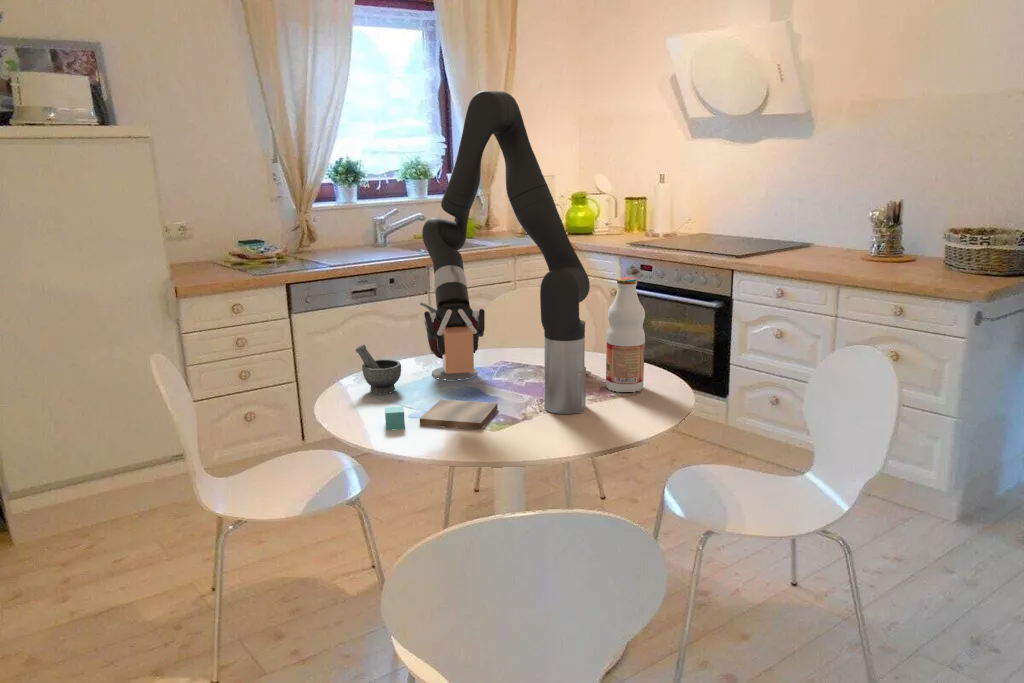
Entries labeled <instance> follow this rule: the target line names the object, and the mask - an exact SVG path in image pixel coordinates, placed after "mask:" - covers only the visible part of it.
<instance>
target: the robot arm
mask: <svg viewBox="0 0 1024 683" xmlns="http://www.w3.org/2000/svg"><path fill="white" fill-rule="evenodd" d="M493 135H494V138H495V139H496V141H497V143H498V146H499V148H500V150H501V153H502V156H503V159H504V163H505V188H506V190H505V191H506V194H507V197H508V200H509V203H510V206H511V207H512V211H513V213H514V215H515V217H516V219H517V221H518V223H519V225H520V226H521V227H522V229H523V230H524V231H525V232H526V234H527V235H528V236H529V237H530V238H531V240H532V241H533V243H535V245H536V246H537V248H538V249H539V250H540V253H541V254H542V256H543V258H544V261H545V262H546V266H547V268H548V272H547V273H545V275H544V276H543V278H542V279H541V283H540V291H539V302H540V303H539V304H540V320H541V324H542V328H543V330H544V333H543V335H544V346H543V347H544V356H543V357H544V363H543V364H544V369H543V370H544V371H543V372H544V373H543V374H544V376H543V377H544V378H543V380H544V387H543V389H544V391H543V392H544V394H543V395H544V396H543V397H544V399H543V401H544V406H543V407H544V410H545V411H547V412H550V413H551V414H559V415H571V414H582V413H583V412H584V409H585V407H586V406H587V405H586V404H587V403H586V402H587V400H586V397H587V396H586V395H587V394H586V393H587V392H586V391H587V367H586V366H585V353H586V352H585V350H586V349H585V344H586V343H585V342H586V335H585V333H586V325H585V326H584V324H583V323H581V322H580V320H581V319H580V303H581V302H583V301H584V300H585V299H587V297H588V295H589V292H590V288H591V287H590V284H591V283H590V278H589V276H588V273H587V271H586V269H585V268H584V266H583V263H582V261H581V260H580V258H579V256H578V254H577V253H576V251H575V249H574V247H573V245H572V243H571V241H570V238H569V236H568V234H567V231H566V229H565V225H564V223H563V221H562V218H561V217H560V216H561V215H560V214H559V211H558V208H557V206H556V203H555V200H554V198H553V196H552V193H551V191H550V188H549V186H548V184H547V181H546V179H545V177H544V174H543V173H542V169H541V167H540V165H539V162H538V160H537V157H536V155H535V152H534V150H533V148H532V145H531V142H530V139H529V136H528V132H527V129H526V126H525V122H524V118H523V116H522V112H521V110H520V107H519V105H518V102H517V101H516V99H515V98H514V97H513V96H512V95H511V94H510V93H508V92H505V91H501V90H500V91H499V90H482V91H478V92H477V93H476V94H475V95H473V97H472V98H471V100H470V101H469V103H468V106H467V110H466V113H465V118H464V123H463V128H462V133H461V138H460V143H459V146H458V147H459V148H458V151H457V156H456V158H455V163H454V167H453V169H452V172H451V176H450V178H449V180H448V184H447V185H446V188H445V190H444V194H443V196H442V199H441V202H440V207H441V208H442V210H443V211H444V212H445V213H446V214H448V215H450V216H452V217H454V220H453V221H452V220H448V219H444V218H440V217H430V218H428V219H427V220H426V221H425V223H424V224H423V226H422V230H421V231H422V232H421V234H422V242H423V244H424V246H425V249H426V250H427V253H428V255H429V258H430V259H431V262H432V268H433V275H434V278H433V284H434V285H433V286H434V288H433V289H434V296H435V303H436V304H435V305H436V309H437V310H436V312H435V313H429V312H430V311H429V310H428V311H427V310H426V311H424V314H423V322H424V326H425V330H426V333H427V334H428V337H427V339H428V338H429V339H436V340H437V346H438V352H439V353H441V355H444V354H445V347H444V338H443V329H445V328H446V327H463V326H466V327H467V328H471V330H472V331H473V352H474V354H476V352H477V351H478V348H479V340H477V337H479V338H481V337H483V336H484V334H485V328H486V327H485V322H486V321H485V309H484V308H481V309H479V310H475V311H473V310H474V309H473V310H472V308H471V305H470V299H469V298H470V297H469V291H468V284H467V278H466V275H465V269H464V268H465V267H464V263H463V257H462V254H461V252H460V251H459V250H461V249H462V248H463V247H464V245H465V244H466V242H467V241H466V240H467V234H468V233H467V231H468V223H469V217H470V212H471V208H472V206H473V203H474V202H475V199H476V196H477V193H478V191H479V187H480V184H481V176H482V175H481V174H482V173H481V172H482V171H481V167H482V160H483V154H484V151H485V148H486V146H487V144H488V143H489V140H490V139H491V137H492V136H493ZM472 316H473V317H475V320H476V321H478V329H475V328H474V326H473V325H472V322H471V321H470V319H471V317H472ZM435 318H436V319H437V320H438V321H439V322H440V323H441V325H440V328H439V330H438V332H437V331H434V328H433V324H432V323H433V322H434V319H435ZM427 334H426V335H427Z"/></svg>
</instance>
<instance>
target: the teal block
mask: <svg viewBox="0 0 1024 683" xmlns="http://www.w3.org/2000/svg"><path fill="white" fill-rule="evenodd" d="M384 414H385V416H384V417H385V418H384V419H385V420H384V421H385V430H386V431H393V430H392V429H398V430H406V426H405V425H406V424H405V423H406V421H405V408H404V406H403V405H400V406H385V407H384Z"/></svg>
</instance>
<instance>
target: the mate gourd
mask: <svg viewBox="0 0 1024 683" xmlns="http://www.w3.org/2000/svg"><path fill="white" fill-rule="evenodd" d="M419 306H423V307H424V308H425V309H427V310H428V312H429V313H435V312H436V310H437V307H436V308H435V307H434V306H432V305H430V304H427V303H424V302H421V301H420V304H419ZM471 309H472V308H471ZM472 310H473V311H476V309H472ZM470 321H471V322H472V325H473V326H474V328H475V329H478V321H476V320H475V317H473V316H472V317H471V319H470ZM432 324H433V328H434V331H437V332H438V330H439V328H440V325H441V323H440V322H439V321H438V320H437V319H436V318H435V319H434V322H433V323H432ZM426 335H427V336H426V337H427V340H428V341H427V342H428V345H429V349H430V351H431V352H432V353H433V355H434V356H435V357H436V358H438V359H442V360H443V355H441V353H439V352H438V346H437V340H436V339H429V338H428V334H426ZM477 340H478V341H479V340H480V336H479V337H477ZM476 374H477V375H478V371H477V369H476V368H474V372H464V373H448V374H446V373H445V370H444V368H443V366H441V367H438V368H435V369H433V370H432V371H431V377H432V376H433V377H432V378H434V377H435V378H434V379H436V378H439V379H446V380H445V381H447V380H457V381H459V380H458V379H465V380H467V379H466V378H470V379H472V378H471V377H473V376H475V375H476ZM477 375H476V376H477ZM476 376H475V377H476ZM473 378H474V377H473ZM439 379H438V380H439Z"/></svg>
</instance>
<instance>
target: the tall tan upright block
mask: <svg viewBox="0 0 1024 683" xmlns="http://www.w3.org/2000/svg"><path fill="white" fill-rule="evenodd" d="M443 338H444V347H445V354H444V355H443V359H442V367H443V368H444V370H445V373H446V374H448V373H464V372H474V369H475V366H474V364H475V363H474V362H475V361H474V360H475V359H474V358H475V357H474V354H475V353H474V352H473V331H472V330H471V328H467V327H466V326H463V327H446V328H445V329H443Z"/></svg>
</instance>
